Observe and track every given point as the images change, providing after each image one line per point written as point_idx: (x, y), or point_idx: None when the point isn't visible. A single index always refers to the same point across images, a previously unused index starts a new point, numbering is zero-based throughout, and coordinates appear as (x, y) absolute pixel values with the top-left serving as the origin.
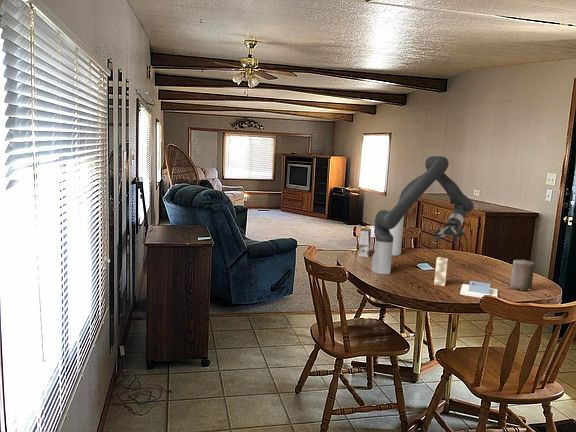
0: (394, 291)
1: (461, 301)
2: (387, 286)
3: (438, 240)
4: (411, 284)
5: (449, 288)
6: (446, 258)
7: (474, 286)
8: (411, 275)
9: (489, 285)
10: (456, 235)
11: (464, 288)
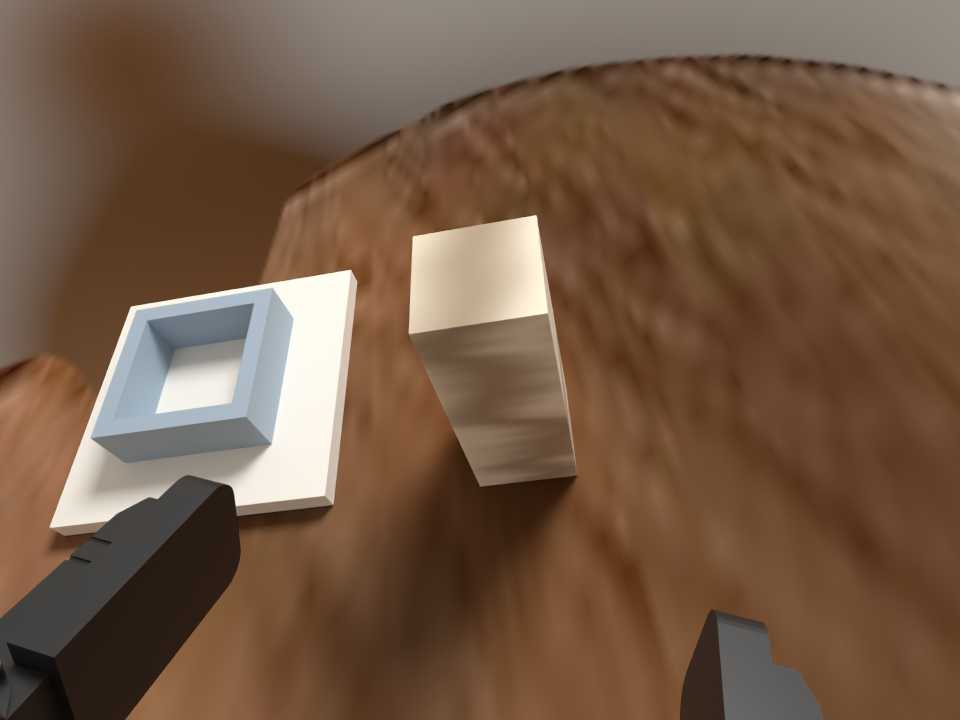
0: (738, 91)
1: (352, 179)
2: (836, 133)
3: (686, 704)
4: (724, 273)
5: None
6: (429, 320)
7: (239, 295)
8: (900, 575)
9: (115, 379)
10: (2, 626)
11: (317, 366)
